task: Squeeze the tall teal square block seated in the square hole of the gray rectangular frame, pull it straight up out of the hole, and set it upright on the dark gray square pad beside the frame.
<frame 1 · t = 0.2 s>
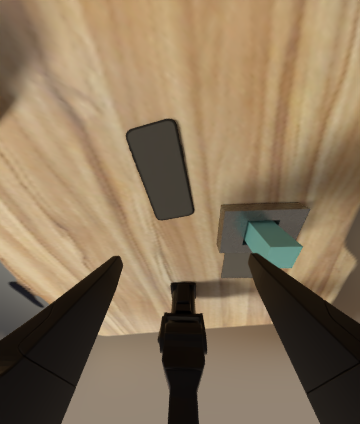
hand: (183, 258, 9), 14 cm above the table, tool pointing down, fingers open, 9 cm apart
smartphone: (165, 177, 21), on the table
dark gray square pad: (243, 263, 29), on the table
teal square block: (264, 238, 21), in the gray rectangular frame
gray rectangular frame: (253, 225, 24), on the table
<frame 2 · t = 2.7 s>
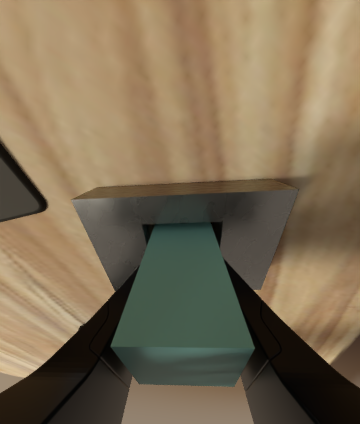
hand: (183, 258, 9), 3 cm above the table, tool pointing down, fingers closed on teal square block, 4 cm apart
teal square block: (183, 270, 8), in the gray rectangular frame, touching gripper
gray rectangular frame: (183, 232, 12), on the table
when the fingers open (5 cm above the table, at t = 7.8 s): teal square block drops 1 cm, resting on dark gray square pad.
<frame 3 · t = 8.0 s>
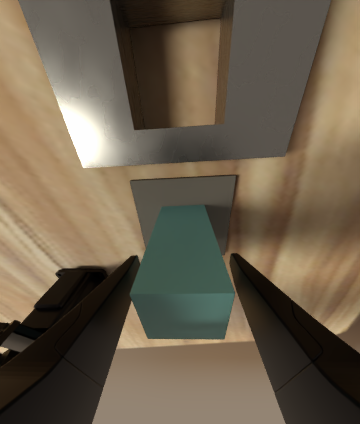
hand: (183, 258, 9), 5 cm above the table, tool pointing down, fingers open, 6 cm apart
dark gray square pad: (184, 221, 13), on the table
teal square block: (183, 253, 9), on the dark gray square pad
gray rectangular frame: (177, 85, 8), on the table
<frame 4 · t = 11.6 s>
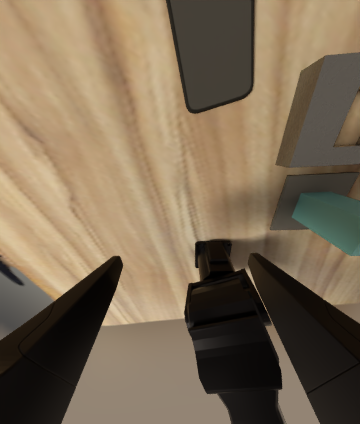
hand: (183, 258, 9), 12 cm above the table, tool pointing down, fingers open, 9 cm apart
smartphone: (208, 7, 12), on the table
dark gray square pad: (307, 203, 19), on the table
teal square block: (338, 218, 16), on the dark gray square pad
gray rectangular frame: (345, 120, 15), on the table
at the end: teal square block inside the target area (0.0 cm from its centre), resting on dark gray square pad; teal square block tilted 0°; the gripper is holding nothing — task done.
